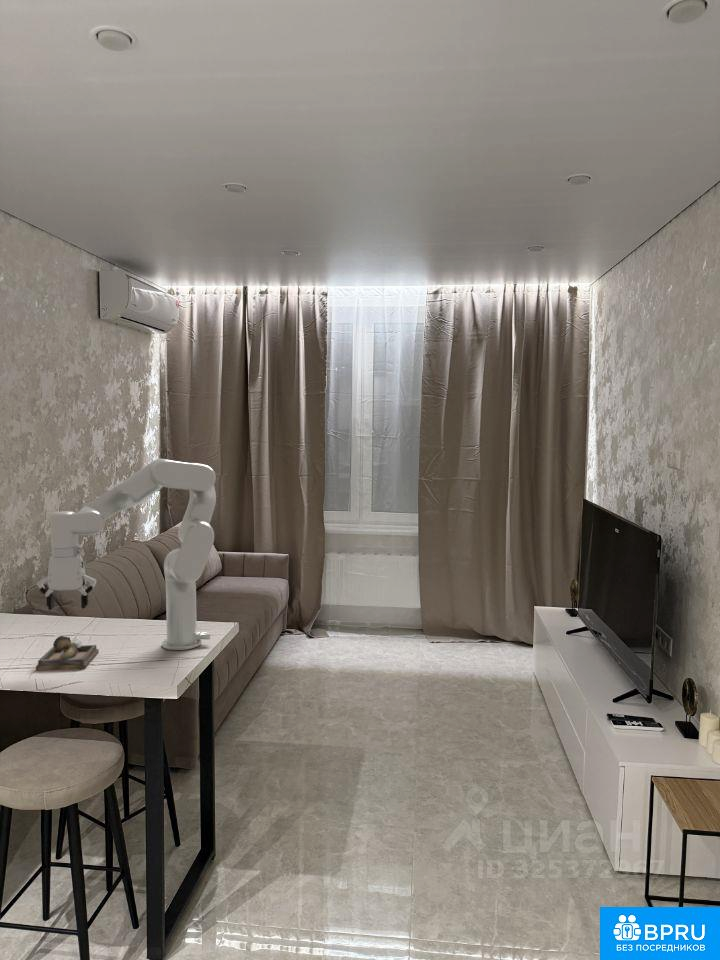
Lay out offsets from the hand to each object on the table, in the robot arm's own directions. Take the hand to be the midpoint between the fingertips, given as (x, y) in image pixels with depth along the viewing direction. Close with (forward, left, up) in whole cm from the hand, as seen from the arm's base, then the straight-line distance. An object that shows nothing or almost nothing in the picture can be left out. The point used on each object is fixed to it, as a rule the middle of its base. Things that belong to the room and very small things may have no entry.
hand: (67, 608), depth 217 cm
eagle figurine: (0, +2, -15) cm, 15 cm away
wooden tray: (0, 0, -17) cm, 17 cm away
